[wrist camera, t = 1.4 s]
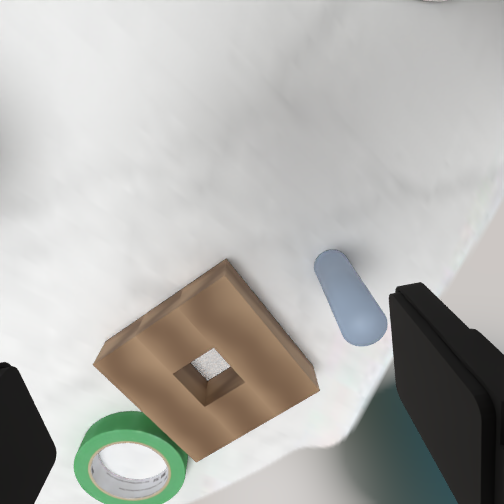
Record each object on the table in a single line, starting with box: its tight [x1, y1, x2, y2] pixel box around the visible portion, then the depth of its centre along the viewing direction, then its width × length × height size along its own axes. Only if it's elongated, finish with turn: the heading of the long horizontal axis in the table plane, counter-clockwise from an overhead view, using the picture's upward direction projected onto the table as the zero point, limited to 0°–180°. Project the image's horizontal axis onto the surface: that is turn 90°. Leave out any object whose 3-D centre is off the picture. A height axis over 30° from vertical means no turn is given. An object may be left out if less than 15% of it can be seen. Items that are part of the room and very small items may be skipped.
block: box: [93, 259, 320, 462], centre depth 37 cm, size 14×14×4 cm
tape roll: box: [74, 411, 188, 504], centre depth 42 cm, size 11×11×3 cm
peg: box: [314, 250, 387, 346], centre depth 31 cm, size 3×3×10 cm
